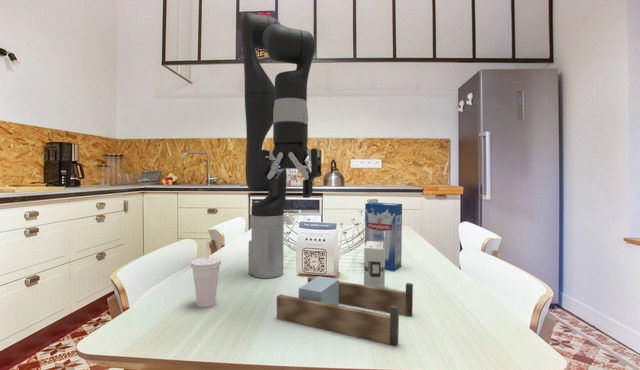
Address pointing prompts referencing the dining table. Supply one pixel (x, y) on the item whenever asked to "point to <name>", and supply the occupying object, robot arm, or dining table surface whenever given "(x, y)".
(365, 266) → the ink box
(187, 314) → the dining table surface
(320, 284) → the slate block
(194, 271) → the smoothie
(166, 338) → the dining table surface
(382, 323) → the chute
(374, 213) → the milk carton
